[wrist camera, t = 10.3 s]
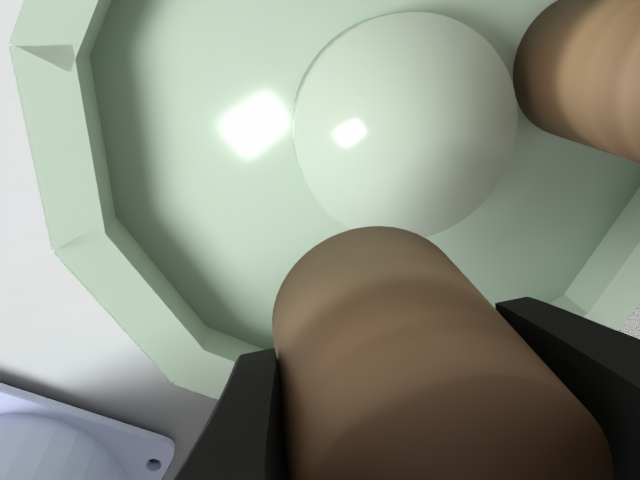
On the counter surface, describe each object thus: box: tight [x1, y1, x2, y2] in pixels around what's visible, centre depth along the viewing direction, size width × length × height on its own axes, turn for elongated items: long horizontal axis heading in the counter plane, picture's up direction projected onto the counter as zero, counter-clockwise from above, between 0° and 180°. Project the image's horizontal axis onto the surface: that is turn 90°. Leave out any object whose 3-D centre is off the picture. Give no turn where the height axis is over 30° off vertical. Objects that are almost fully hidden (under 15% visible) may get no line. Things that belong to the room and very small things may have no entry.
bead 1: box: [272, 226, 613, 480], centre depth 9 cm, size 4×4×5 cm
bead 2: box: [513, 0, 640, 164], centre depth 14 cm, size 4×4×5 cm
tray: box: [9, 0, 640, 400], centre depth 16 cm, size 19×19×2 cm
